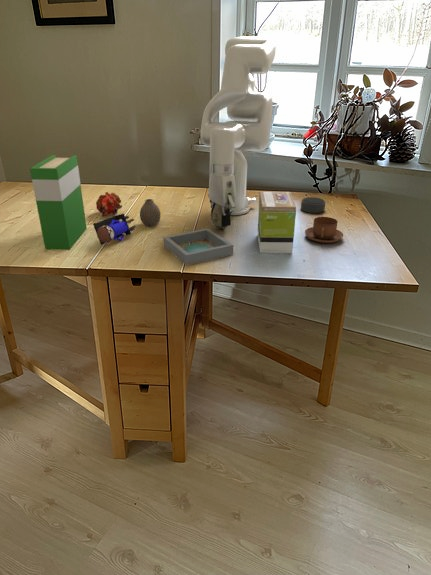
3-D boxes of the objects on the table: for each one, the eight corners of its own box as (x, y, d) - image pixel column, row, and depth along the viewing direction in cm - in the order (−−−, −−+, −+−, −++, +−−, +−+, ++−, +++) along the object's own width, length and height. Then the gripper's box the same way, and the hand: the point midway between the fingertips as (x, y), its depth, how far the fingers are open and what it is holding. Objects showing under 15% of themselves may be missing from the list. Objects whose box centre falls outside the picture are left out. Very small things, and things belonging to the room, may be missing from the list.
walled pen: (207, 237, 141) (207, 228, 139) (233, 254, 129) (233, 244, 128) (163, 246, 134) (163, 237, 133) (186, 265, 122) (186, 255, 121)
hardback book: (64, 228, 146) (52, 154, 135) (86, 228, 146) (76, 155, 135) (45, 249, 131) (29, 168, 120) (69, 249, 131) (56, 168, 119)
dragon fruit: (119, 212, 166) (106, 228, 156) (100, 199, 164) (85, 213, 155) (129, 197, 161) (116, 211, 151) (109, 182, 159) (95, 196, 150)
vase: (157, 229, 147) (155, 203, 143) (137, 227, 148) (135, 202, 144) (163, 222, 153) (162, 197, 149) (144, 220, 154) (142, 196, 150)
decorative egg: (226, 233, 144) (226, 203, 139) (209, 230, 146) (209, 201, 141) (231, 227, 149) (232, 198, 144) (215, 225, 151) (215, 196, 146)
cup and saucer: (346, 246, 136) (349, 227, 133) (307, 245, 136) (310, 227, 133) (337, 232, 146) (340, 214, 143) (301, 231, 146) (303, 214, 144)
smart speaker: (322, 215, 161) (324, 204, 159) (298, 212, 164) (299, 202, 162) (325, 208, 169) (326, 198, 167) (302, 205, 171) (303, 195, 169)
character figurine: (140, 235, 142) (106, 251, 131) (123, 229, 145) (89, 244, 134) (139, 213, 138) (104, 227, 127) (122, 207, 141) (87, 220, 130)
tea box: (256, 234, 143) (258, 190, 136) (287, 235, 143) (291, 190, 136) (258, 253, 130) (261, 205, 123) (292, 254, 130) (297, 206, 123)
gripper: (246, 173, 133) (244, 229, 141) (218, 161, 146) (217, 213, 154) (225, 175, 129) (224, 233, 138) (198, 164, 143) (198, 217, 151)
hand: (220, 222), depth 146 cm, fingers closed on decorative egg, 6 cm apart
